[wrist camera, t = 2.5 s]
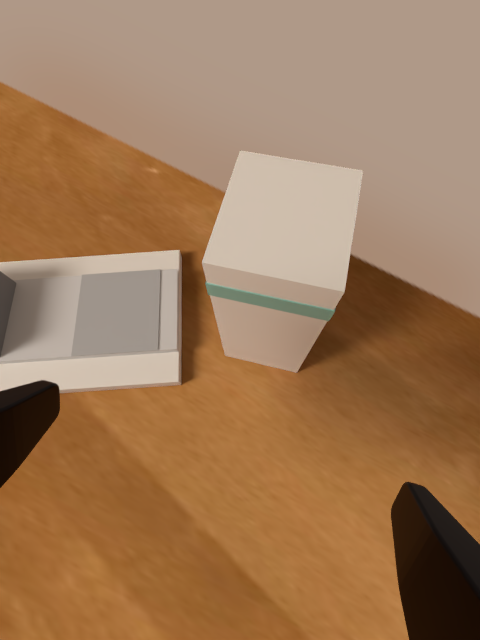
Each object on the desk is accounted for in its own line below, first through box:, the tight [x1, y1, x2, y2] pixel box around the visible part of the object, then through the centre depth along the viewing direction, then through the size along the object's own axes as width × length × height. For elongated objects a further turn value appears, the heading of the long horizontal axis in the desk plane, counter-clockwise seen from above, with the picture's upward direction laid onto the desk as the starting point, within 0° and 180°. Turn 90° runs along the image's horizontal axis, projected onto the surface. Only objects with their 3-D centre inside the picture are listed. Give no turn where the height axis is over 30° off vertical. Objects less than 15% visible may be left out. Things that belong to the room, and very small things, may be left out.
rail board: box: [0, 250, 182, 393], centre depth 22 cm, size 10×17×5 cm, turn 94°
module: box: [202, 151, 363, 373], centre depth 18 cm, size 6×5×12 cm
